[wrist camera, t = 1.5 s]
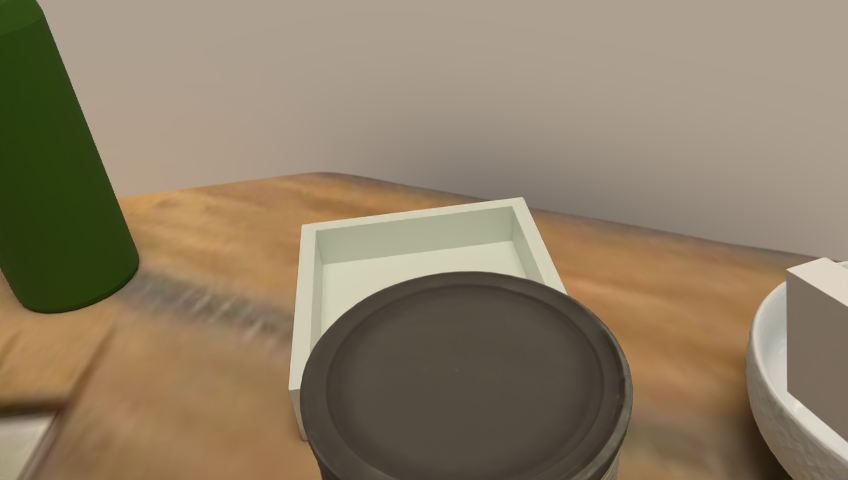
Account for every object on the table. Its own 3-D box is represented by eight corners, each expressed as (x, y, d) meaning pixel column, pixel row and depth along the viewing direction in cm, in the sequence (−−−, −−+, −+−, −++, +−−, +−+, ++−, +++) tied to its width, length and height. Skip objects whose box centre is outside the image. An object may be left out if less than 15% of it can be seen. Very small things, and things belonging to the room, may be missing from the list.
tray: (302, 441, 37) (288, 390, 35) (311, 269, 50) (301, 224, 48) (587, 401, 38) (592, 349, 35) (522, 242, 51) (522, 197, 48)
